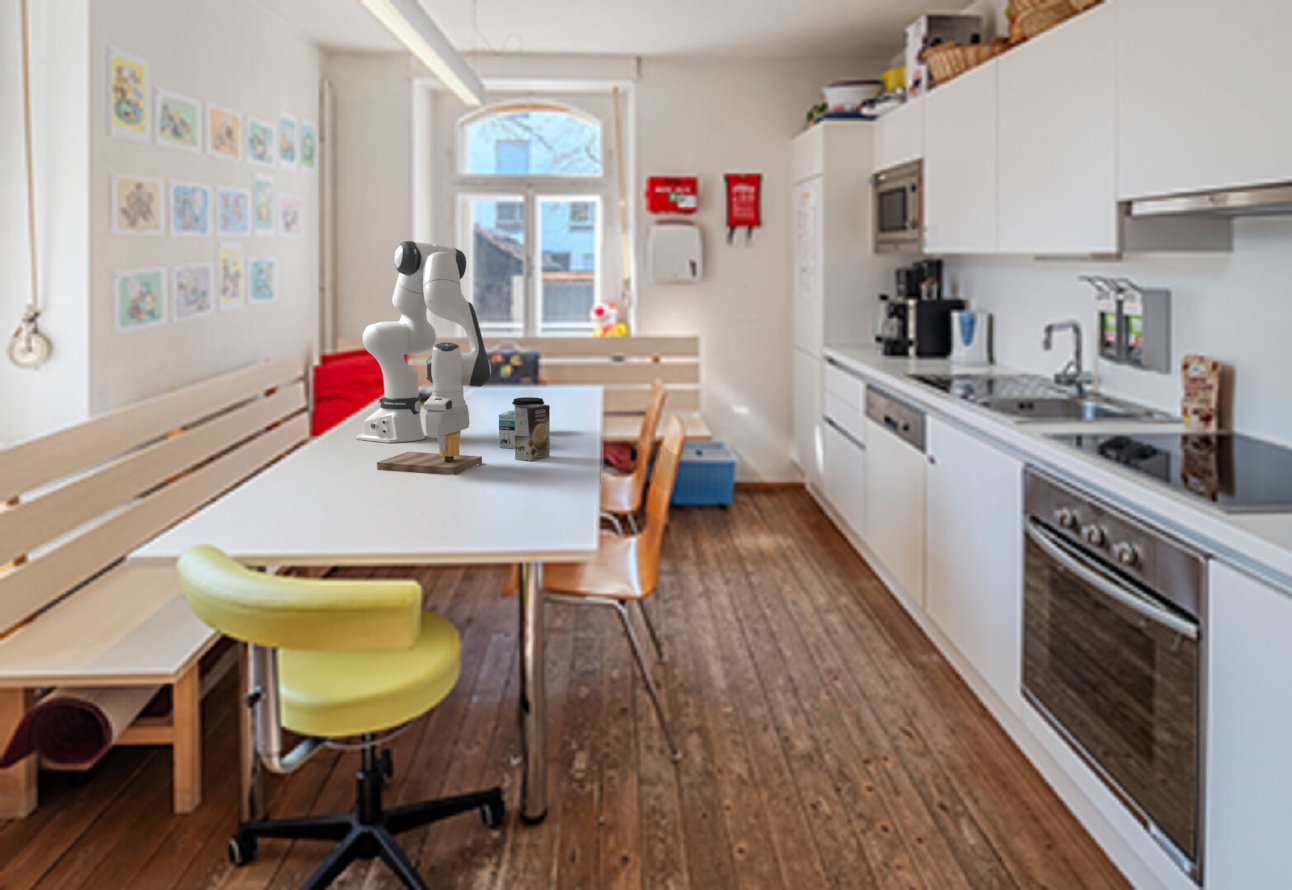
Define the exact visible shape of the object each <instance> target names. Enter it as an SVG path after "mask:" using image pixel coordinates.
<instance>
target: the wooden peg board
mask: <svg viewBox="0 0 1292 890" xmlns="http://www.w3.org/2000/svg"><path fill="white" fill-rule="evenodd" d="M477 464H479V465H481V464H483V456H482V455H481V456H479V455H467V454H465V455H464V454H460V455H458V456H440V455H439V453H438V452H435V453H434V452H423V451H421V452H420V451H419V452H418V451H407V452H404V453H400V454H398V455H395V456H393V457H388V458H386V459H383V460H379V461H378V462H377V461H376V469H377V470H380V469H382V470H381V471H394V470H395V472H396V471H397V472H410V473H411V472H412V473H422V474H435V473H442V474H441V475H449V474H455V475H457V474H459V473H462V472H464V471H467V470H470V469H472V468H473V466H474V467H476V466H478V465H477ZM475 465H476V466H475ZM466 469H467V470H466ZM456 473H457V474H456Z"/></svg>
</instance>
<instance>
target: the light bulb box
mask: <svg viewBox="0 0 1292 890" xmlns="http://www.w3.org/2000/svg"><path fill="white" fill-rule="evenodd" d="M498 444H499V445H498V446H499V447H500V449H514V448H515V410H508V411H506V412H502V413H501V414H498ZM499 447H498V448H499Z"/></svg>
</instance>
